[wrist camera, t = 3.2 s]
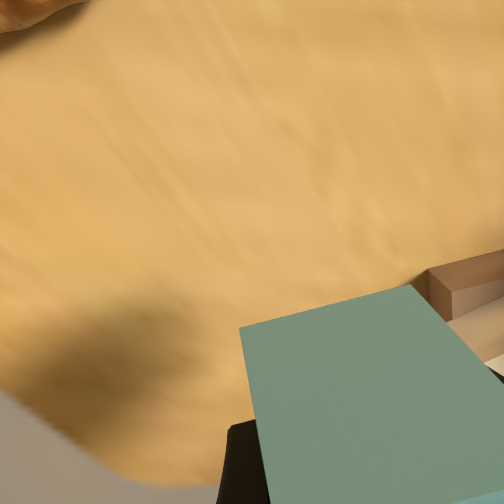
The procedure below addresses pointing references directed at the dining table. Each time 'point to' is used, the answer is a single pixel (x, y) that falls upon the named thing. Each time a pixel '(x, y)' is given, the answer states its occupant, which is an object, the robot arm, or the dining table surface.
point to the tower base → (466, 284)
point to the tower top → (484, 333)
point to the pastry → (28, 12)
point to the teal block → (374, 406)
